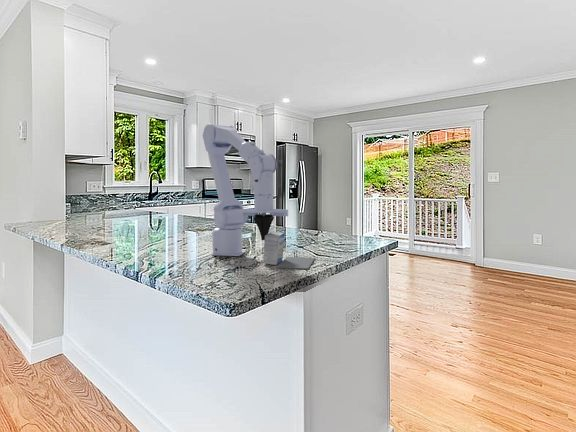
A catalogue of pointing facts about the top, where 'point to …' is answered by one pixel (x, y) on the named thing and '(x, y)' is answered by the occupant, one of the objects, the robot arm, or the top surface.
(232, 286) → the top surface
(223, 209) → the robot arm
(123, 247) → the top surface
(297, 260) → the slate mat
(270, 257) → the medicine box
